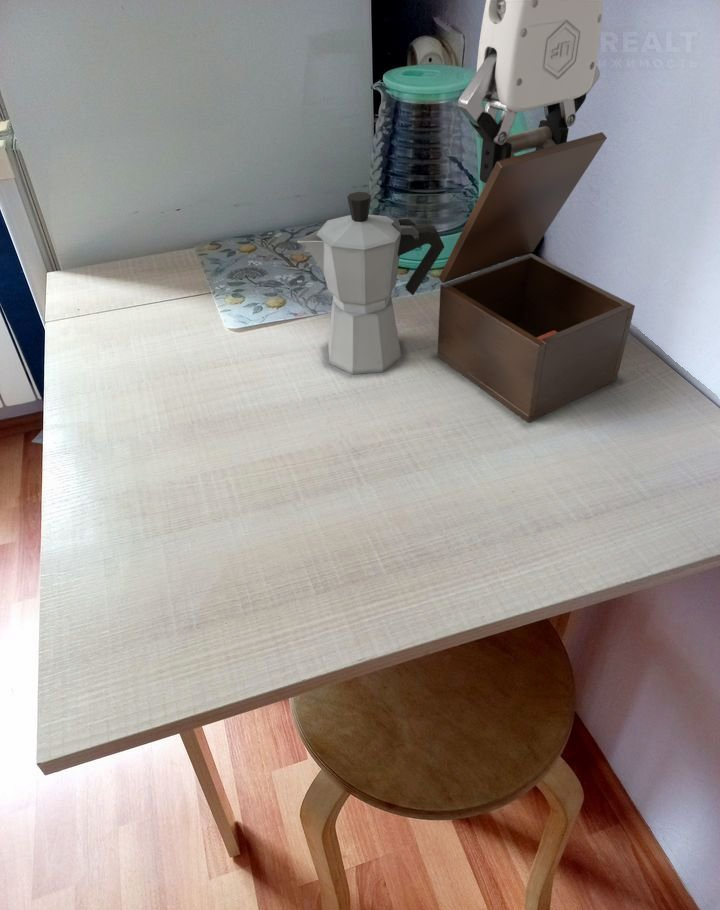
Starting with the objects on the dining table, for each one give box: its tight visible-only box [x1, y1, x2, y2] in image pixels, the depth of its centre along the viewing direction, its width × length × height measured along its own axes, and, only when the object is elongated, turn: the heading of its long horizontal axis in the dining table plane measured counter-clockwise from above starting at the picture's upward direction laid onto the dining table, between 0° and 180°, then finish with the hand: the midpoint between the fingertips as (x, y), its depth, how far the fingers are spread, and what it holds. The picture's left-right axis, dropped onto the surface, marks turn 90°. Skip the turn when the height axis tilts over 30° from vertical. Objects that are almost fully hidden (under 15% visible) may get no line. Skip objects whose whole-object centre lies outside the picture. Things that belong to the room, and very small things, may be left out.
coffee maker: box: [296, 191, 445, 375], centre depth 74 cm, size 15×9×18 cm, turn 95°
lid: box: [438, 126, 608, 284], centre depth 69 cm, size 15×13×5 cm
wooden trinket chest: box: [436, 252, 636, 423], centre depth 74 cm, size 15×13×9 cm
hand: (520, 174), depth 66 cm, fingers closed on lid, 6 cm apart
